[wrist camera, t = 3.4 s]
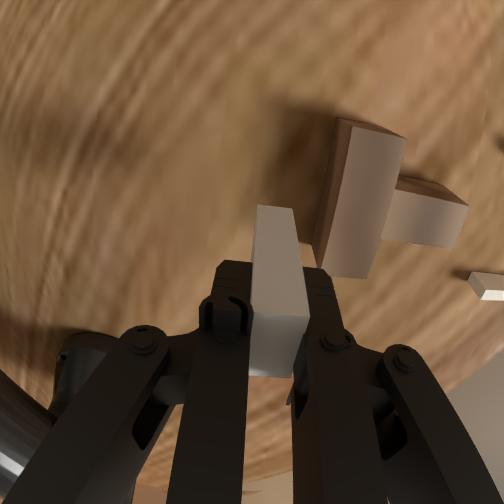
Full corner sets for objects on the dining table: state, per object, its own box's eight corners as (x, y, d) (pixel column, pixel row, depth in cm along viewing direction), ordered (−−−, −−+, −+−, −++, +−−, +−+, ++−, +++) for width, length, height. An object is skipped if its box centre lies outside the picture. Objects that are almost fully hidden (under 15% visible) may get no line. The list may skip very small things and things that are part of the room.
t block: (311, 245, 24) (319, 275, 21) (336, 117, 19) (352, 126, 15) (418, 257, 24) (437, 284, 21) (453, 148, 19) (483, 163, 16)
